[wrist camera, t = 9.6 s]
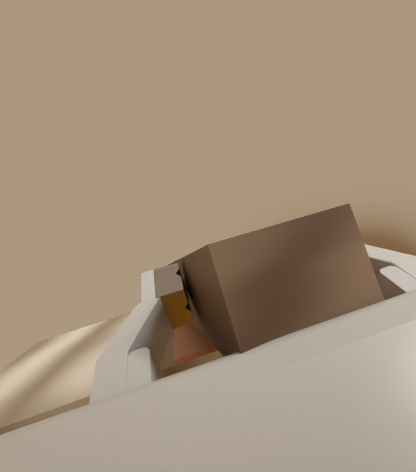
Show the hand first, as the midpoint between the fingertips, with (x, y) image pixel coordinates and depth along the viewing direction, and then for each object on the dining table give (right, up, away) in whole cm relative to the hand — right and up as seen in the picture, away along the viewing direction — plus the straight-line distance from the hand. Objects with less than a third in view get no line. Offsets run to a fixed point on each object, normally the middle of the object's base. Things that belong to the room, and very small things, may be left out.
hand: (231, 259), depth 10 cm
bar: (-1, -3, +7) cm, 8 cm away
